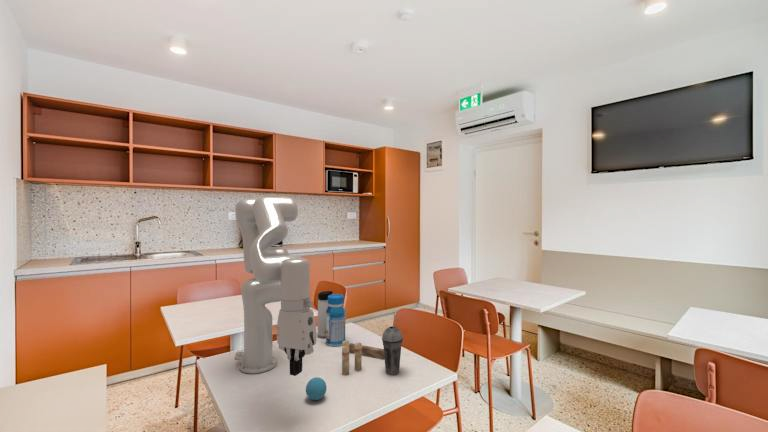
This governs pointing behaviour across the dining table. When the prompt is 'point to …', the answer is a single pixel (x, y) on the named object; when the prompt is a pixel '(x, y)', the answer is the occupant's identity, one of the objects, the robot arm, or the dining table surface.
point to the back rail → (368, 351)
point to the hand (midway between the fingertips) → (296, 373)
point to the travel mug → (322, 312)
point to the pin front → (345, 360)
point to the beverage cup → (392, 349)
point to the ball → (316, 388)
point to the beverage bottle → (335, 320)
